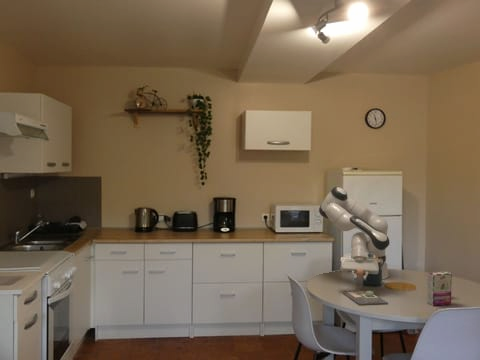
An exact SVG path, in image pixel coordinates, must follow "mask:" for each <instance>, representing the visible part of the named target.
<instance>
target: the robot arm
mask: <svg viewBox="0 0 480 360" xmlns="http://www.w3.org/2000/svg"><path fill="white" fill-rule="evenodd" d="M318 211H319V214H320V215H321V217H323V218H325V219H329V220H330V222H331V223H332V224H333V225H334V226H335V227H336V228H337V229H339V230H341V231H342V232H349V231H351V230H354V229H357V230H360V231H358V232H355V233H354V234H353V235H352V237H351V241H350V246H351V251H350V253H351V254H350V255H351V256H343V257H340V263H341V268H340V271H341V272H342V273H351V276H352V277H353V280H357V269H361V270H363V273H365V276H363V280H366V277H367V275H368V274H378V272H379V266H378V262H377V260H376V258H378V259H379V260H381V262H380V263H381V264H382V265H383V266H382V280H385V279H387V278H388V277H390V274H389V272H388V263H387V262H386V261H387V255H386V249H387V248H388V247H389V246H390V237H388V229H389V226H388V222H387V220H386V219H385V218H383V217H382V216H380V215H378V214H377V213H376V212H373V211H372V210H371V209H369V208H367V207H366V206H364V205H363V204H362V203H360V202H358V201H356V200H355V199H353V198H351V197H349V196H348V193H347V191H346V190H345V189H344V188H342V187H340V186H334V187H333V188H331V190H330V192H328V193H327V195H326V196H325V197H324V200H323V201H322V203H321V205H320V206H319V207H318Z"/></svg>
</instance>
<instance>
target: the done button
mask: <svg viewBox="0 0 480 360" xmlns="http://www.w3.org/2000/svg"><path fill="white" fill-rule="evenodd" d="M373 294H374V291H372V290H368V291H366V296H367V297H373Z"/></svg>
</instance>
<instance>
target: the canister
mask: <svg viewBox="0 0 480 360" xmlns="http://www.w3.org/2000/svg"><path fill="white" fill-rule="evenodd" d="M376 260H377V262H378V266H379V272H378V274H368V275H367V277H366V280H363V286H369V287H379V286H381V285H382V284H383V279H382V266H383V265H382V264H381V263H380V262H381V260H379V259H378V258H376ZM363 276H365V273H363Z"/></svg>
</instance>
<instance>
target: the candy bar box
mask: <svg viewBox="0 0 480 360" xmlns="http://www.w3.org/2000/svg"><path fill="white" fill-rule="evenodd" d="M452 276H453V275H452V273H451V272H449V271H446V270H445V271H433V272H427V302H426V303H427V304H428V305H430V306H433V307H438V306H447V305H449V306H450V305H452V278H453V277H452Z"/></svg>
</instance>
